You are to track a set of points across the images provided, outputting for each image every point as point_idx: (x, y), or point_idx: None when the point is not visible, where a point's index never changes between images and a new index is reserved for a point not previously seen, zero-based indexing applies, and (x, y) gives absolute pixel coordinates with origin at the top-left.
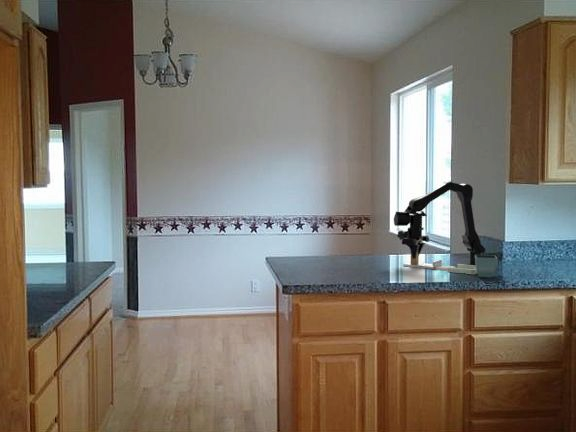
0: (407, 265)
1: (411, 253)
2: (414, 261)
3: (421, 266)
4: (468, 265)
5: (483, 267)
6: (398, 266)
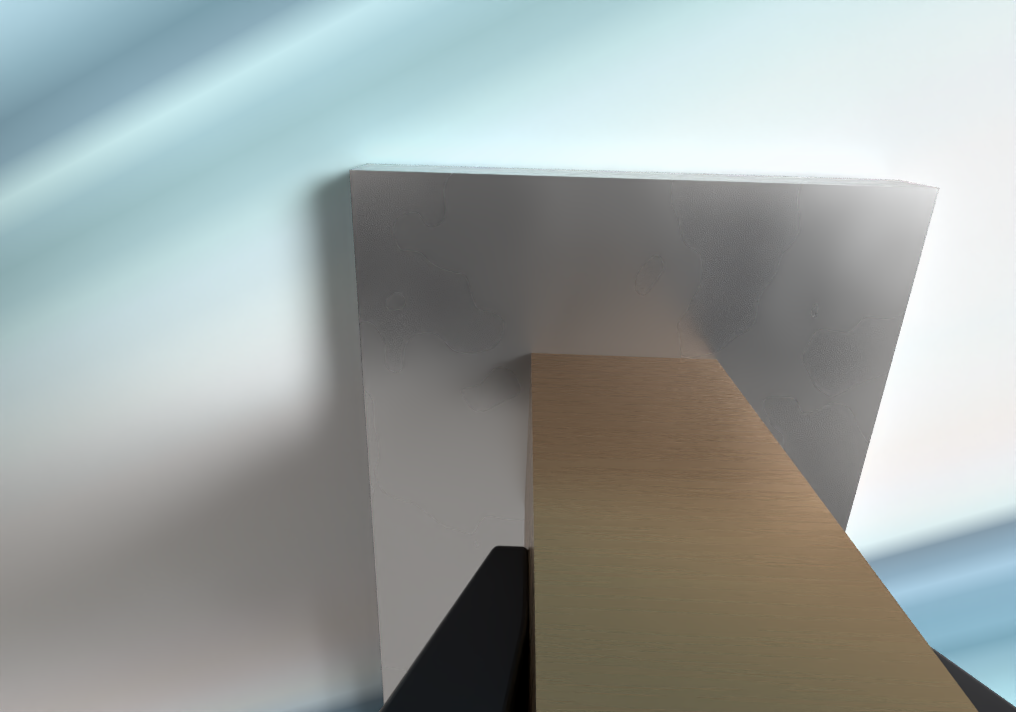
0: (365, 312)
1: (399, 684)
2: (526, 514)
3: (386, 659)
4: None
5: None
6: (227, 46)
